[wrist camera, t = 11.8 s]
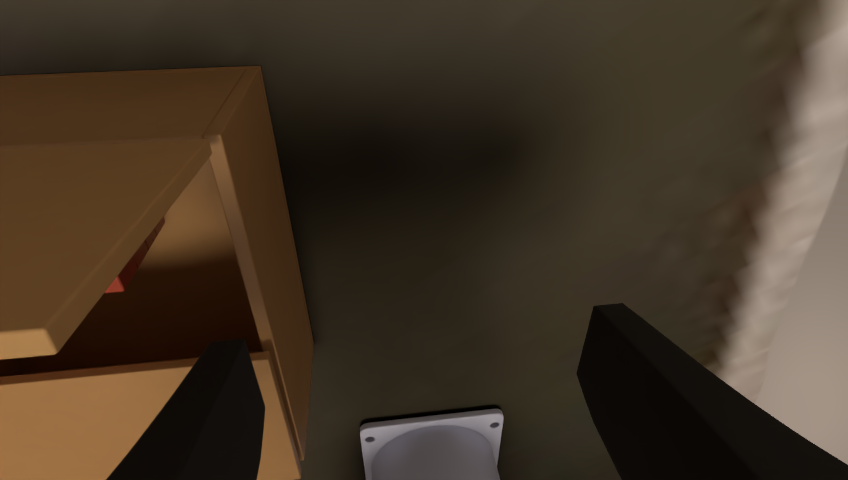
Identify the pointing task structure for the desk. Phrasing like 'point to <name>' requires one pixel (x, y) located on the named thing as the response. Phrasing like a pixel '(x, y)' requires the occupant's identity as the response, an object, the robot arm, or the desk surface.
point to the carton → (164, 275)
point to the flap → (77, 229)
